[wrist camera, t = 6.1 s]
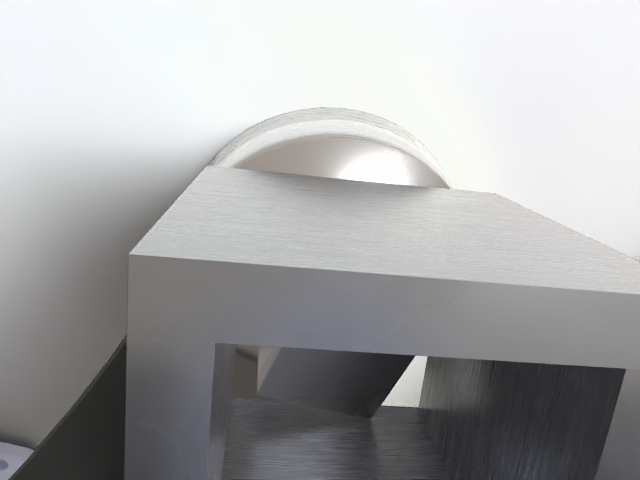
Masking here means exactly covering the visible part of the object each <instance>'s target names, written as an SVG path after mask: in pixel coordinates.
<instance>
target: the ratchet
mask: <svg viewBox="0 0 640 480" xmlns="http://www.w3.org/2000/svg"><path fill="white" fill-rule="evenodd" d="M208 166H217V167H227V168H237V169H247V170H258V171H268V172H278V173H289V174H299V175H309V176H319V177H330V178H340V179H350V180H361V181H371V182H381V183H391V184H402V185H412V186H422V187H433V188H443V189H452V187H451V185H450V183H449V182H448V180H447V178H446V176H445V174H444V173H443V171H442V169H441V168H440V166H439V164H438V163H437V161H436V159H435V158H434V156H433V155H432V154H431V153H430V152H429V151H428V149H427V148H426V147H425V146H424V145H423V144H422V143H421V142H420V141H419V140H417V139H416V138H415V137H414V136H413V135H412V134H410V133H409V132H407V131H406V130H404V129H403V128H401V127H400V126H398V125H396V124H394V123H392V122H390V121H388V120H386V119H383V118H381V117H379V116H375V115H372V114H369V113H366V112H362V111H357V110H351V109H345V108H325V107H322V108H311V109H302V110H297V111H293V112H288V113H284V114H281V115H278V116H275V117H272V118H270V119H267V120H264V121H262V122H260V123H259V124H257V125H255V126H253V127H251V128H249V129H247V130H246V131H244V132H243V133H241V134H240V135H238V136H237V137H236V138H234V139H233V140H232V141H231V142H229V143H228V144H227V145H226V146H225V147H224V148H223V149H222V150H221V151H220V152H219V153H218V154H217V155H216V157H215V158H214V159H213V160H212V161H211V163H210V164H209V165H208ZM415 356H416V355H401V354H385V353H369V352H353V351H337V350H321V349H305V348H290V347H274V346H258V345H242V344H236V351H235V364H234V377H233V390H232V398H245V399H264V400H282V401H287V402H292V403H297V404H301V405H306V406H311V407H316V408H320V409H325V410H330V411H335V412H340V413H344V414H349V415H354V416H359V417H363V418H368V419H372V417H373V416H374V414H375V413H376V411H377V410H378V409H379V407H380V406H381V404H382V403H383V401H384V400H385V398H386V397H387V396H388V394H389V393H390V391H391V390H392V388H393V387H394V386H395V384H396V383H397V381H398V380H399V378H400V377H401V376H402V374H403V373H404V371H405V370H406V368H407V367H408V366H409V364H410V363H411V361H412V360H413V358H414V357H415Z"/></svg>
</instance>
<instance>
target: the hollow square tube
mask: <svg viewBox="0 0 640 480" xmlns="http://www.w3.org/2000/svg"><path fill="white" fill-rule="evenodd" d="M236 344H242V345H258V346H274V347H290V348H305V349H321V350H337V351H353V352H369V353H385V354H401V355H417V356H428V358H427V364H426V369H425V375H424V381H423V386H422V392H421V398H420V403H419V408H417V407H398V406H380V407H379V409H378V410H377V411H376V413H375V414H374V416H373V417H372V419H368V418H363V417H359V416H354V415H349V414H344V413H340V412H335V411H330V410H325V409H320V408H316V407H311V406H306V405H301V404H297V403H292V402H287V401H282V400H264V399H245V398H232V390H233V377H234V364H235V351H236ZM124 480H640V262H639V261H637V260H635V259H633V258H631V257H629V256H627V255H624V254H622V253H620V252H618V251H616V250H614V249H612V248H610V247H608V246H605V245H603V244H601V243H599V242H597V241H595V240H593V239H591V238H588V237H586V236H584V235H582V234H580V233H578V232H576V231H574V230H572V229H569V228H567V227H565V226H563V225H561V224H559V223H557V222H555V221H553V220H550V219H548V218H546V217H544V216H542V215H540V214H538V213H536V212H534V211H531V210H529V209H527V208H525V207H523V206H521V205H519V204H517V203H515V202H512V201H510V200H508V199H506V198H504V197H502V196H500V195H498V194H494V193H484V192H474V191H464V190H453V189H443V188H433V187H422V186H412V185H402V184H391V183H381V182H371V181H361V180H350V179H340V178H330V177H319V176H309V175H299V174H289V173H278V172H268V171H258V170H247V169H237V168H227V167H217V166H206V167H205V168H204V169H203V170H202V171H201V173H200V174H199V175H198V176H197V177H196V178H195V179H194V180H193V182H192V183H191V184H190V185H189V186H188V187H187V188H186V189H185V191H184V192H183V193H182V194H181V195H180V196H179V197H178V199H177V200H176V201H175V202H174V203H173V204H172V205H171V206H170V208H169V209H168V210H167V211H166V212H165V213H164V214H163V216H162V217H161V218H160V219H159V220H158V221H157V222H156V223H155V225H154V226H153V227H152V228H151V229H150V230H149V231H148V232H147V234H146V235H145V236H144V237H143V238H142V239H141V240H140V242H139V243H138V244H137V245H136V246H135V247H134V248H133V249H132V251H131V252H130V253H129V254H128V306H127V360H126V414H125V468H124Z"/></svg>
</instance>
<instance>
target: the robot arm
mask: <svg viewBox="0 0 640 480" xmlns="http://www.w3.org/2000/svg"><path fill="white" fill-rule="evenodd" d="M126 360H127V335H126V336H125V338H124V339H123V341H122V342H121V343H120V345H119V346H118V348H117V349H116V350H115V352H114V353H113V355H112V356H111V357H110V359H109V360H108V362H107V363H106V364H105V366H104V367H103V368H102V369H101V371H100V372H99V373H98V375H97V376H96V377H95V378H94V380H93V381H92V382H91V384H90V385H89V386H88V387H87V389H86V390H85V391H84V393H83V394H82V395H81V396H80V398H79V399H78V400H77V402H76V403H75V404H74V405H73V406H72V408H71V409H70V410H69V411H68V412H67V414H66V415H65V416H64V417H63V418H62V419H61V421H60V422H59V423H58V424H57V425H56V426H55V428H54V429H53V430H52V431H51V432H50V433H49V434H48V436H47V437H46V438H45V439H44V440H43V441H42V443H41V444H40V445H39V446H38V447H37V448H36V449H35V451H34V450H32V449H30V448H27V447H23V446H18V445H13V444H9V443H4V442H0V480H124V468H125V414H126Z"/></svg>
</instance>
